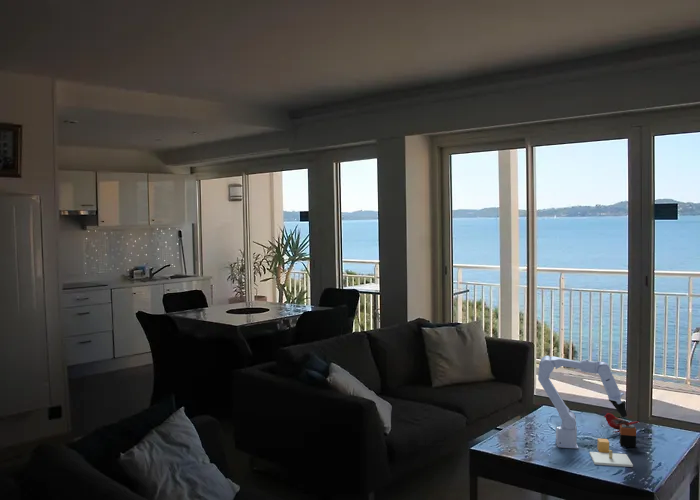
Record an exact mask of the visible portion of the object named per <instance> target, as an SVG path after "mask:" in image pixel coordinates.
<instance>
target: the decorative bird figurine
mask: <svg viewBox="0 0 700 500" xmlns="http://www.w3.org/2000/svg"><path fill="white" fill-rule="evenodd" d="M603 418H605V421H606V423H607V425H608V426H609V427H610V428H612V429H613V430H612V431H613V432H612V433H616V432H617V433H620V425H626V426H629V425H636V424H638V423H640V421H628V420H625V419H623V418H619V417H616V416H615V415H614V414H613V413H611V412H606V414H605V415H604V416H603Z"/></svg>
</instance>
